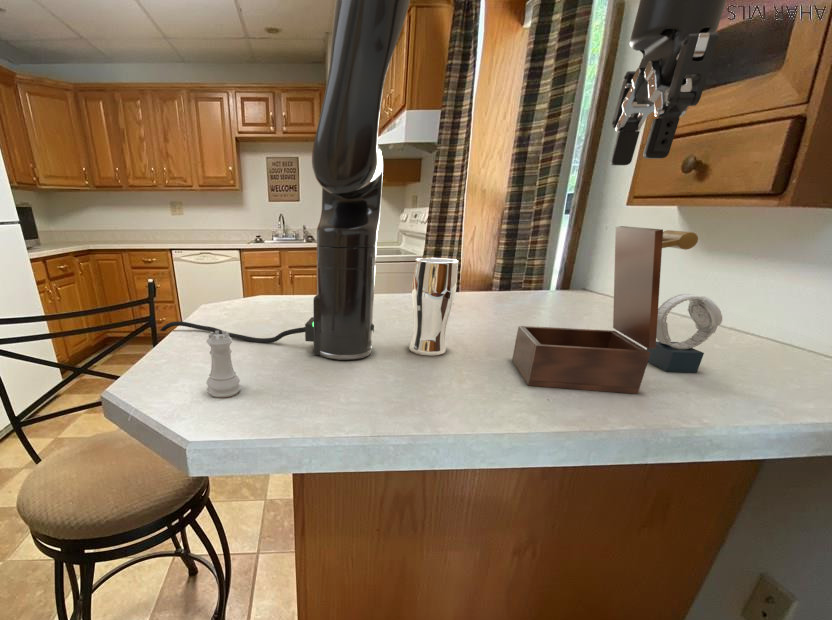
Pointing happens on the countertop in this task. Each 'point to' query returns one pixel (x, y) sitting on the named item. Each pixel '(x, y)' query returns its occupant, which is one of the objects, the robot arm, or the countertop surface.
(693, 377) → the countertop surface
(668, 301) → the watch
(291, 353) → the countertop surface
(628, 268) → the panel with brass rod
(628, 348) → the brown wooden box
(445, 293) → the beer glass
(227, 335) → the rook chess piece
